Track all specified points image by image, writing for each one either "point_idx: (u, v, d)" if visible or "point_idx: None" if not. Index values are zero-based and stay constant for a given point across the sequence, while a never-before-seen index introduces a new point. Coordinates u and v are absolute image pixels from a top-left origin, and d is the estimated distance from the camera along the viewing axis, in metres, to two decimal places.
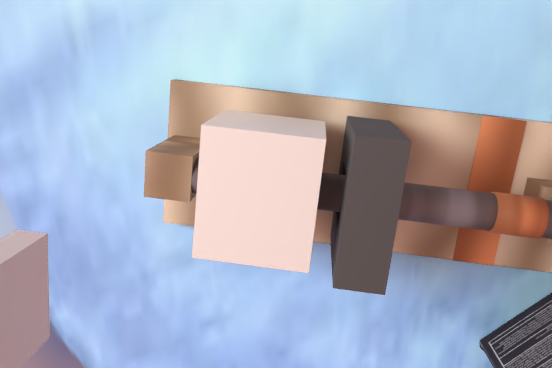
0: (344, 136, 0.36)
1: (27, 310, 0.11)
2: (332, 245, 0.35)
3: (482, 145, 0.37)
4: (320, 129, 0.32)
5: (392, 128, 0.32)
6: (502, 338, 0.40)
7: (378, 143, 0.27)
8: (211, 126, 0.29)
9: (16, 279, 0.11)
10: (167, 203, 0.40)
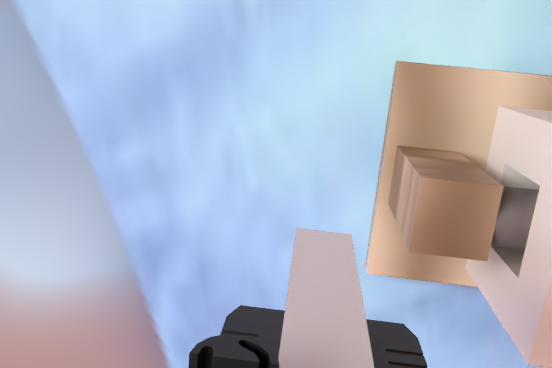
0: None
1: None
2: None
3: None
4: None
5: None
6: None
7: None
8: None
9: None
10: (376, 246, 0.27)
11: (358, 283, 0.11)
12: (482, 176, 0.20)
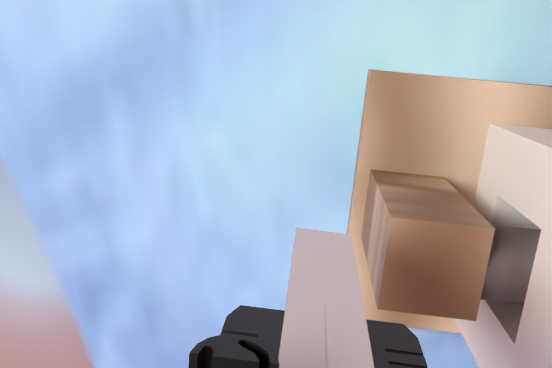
0: None
1: None
2: None
3: None
4: None
5: None
6: None
7: None
8: None
9: None
10: None
11: (358, 283, 0.11)
12: (469, 213, 0.16)
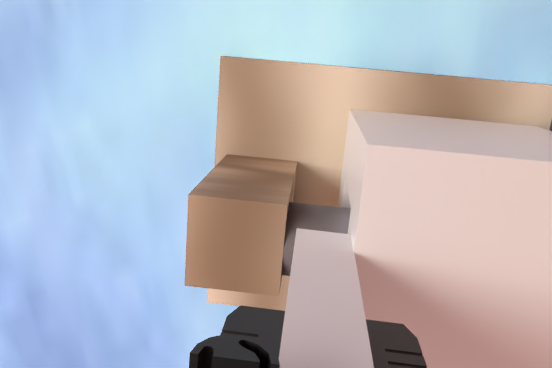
0: None
1: None
2: None
3: None
4: None
5: None
6: None
7: None
8: (392, 147, 0.12)
9: None
10: None
11: (358, 283, 0.11)
12: (278, 192, 0.17)
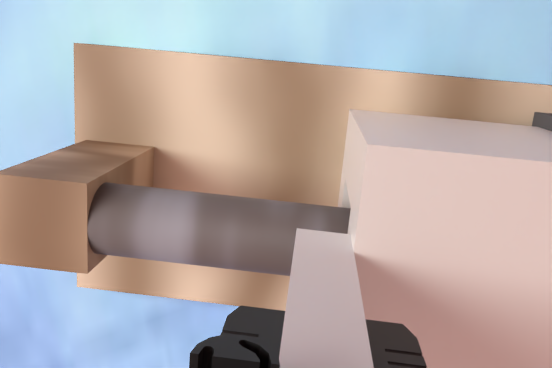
0: None
1: None
2: None
3: None
4: None
5: None
6: None
7: None
8: (391, 147, 0.12)
9: None
10: None
11: (357, 283, 0.11)
12: (93, 172, 0.17)
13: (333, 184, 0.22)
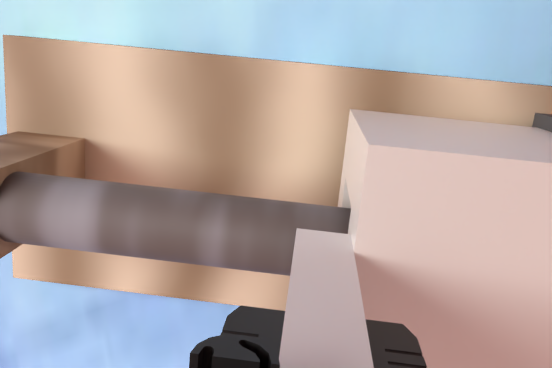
0: None
1: None
2: None
3: None
4: None
5: None
6: None
7: None
8: (392, 148, 0.12)
9: None
10: (17, 246, 0.24)
11: (357, 283, 0.11)
12: (4, 161, 0.17)
13: (262, 176, 0.22)
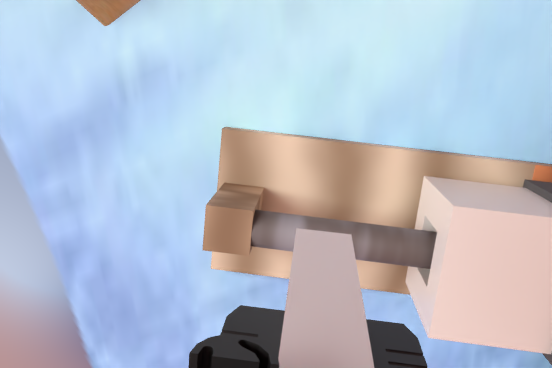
0: None
1: None
2: None
3: None
4: (549, 203, 0.31)
5: None
6: None
7: None
8: (463, 207, 0.28)
9: None
10: None
11: (358, 283, 0.11)
12: (250, 204, 0.33)
13: (367, 210, 0.38)
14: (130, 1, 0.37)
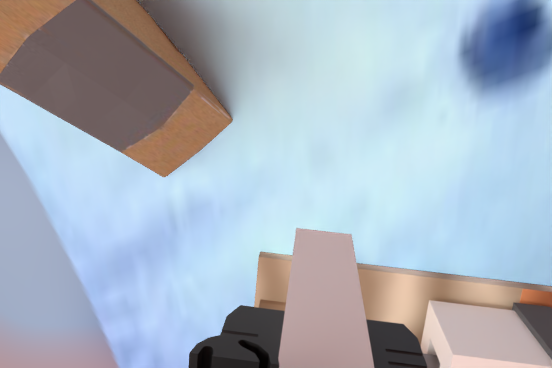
0: None
1: None
2: None
3: None
4: (531, 338, 0.38)
5: None
6: None
7: None
8: (461, 355, 0.35)
9: None
10: None
11: (358, 283, 0.11)
12: None
13: None
14: (184, 158, 0.44)
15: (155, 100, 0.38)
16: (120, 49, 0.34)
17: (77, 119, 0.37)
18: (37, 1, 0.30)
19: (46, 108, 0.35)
